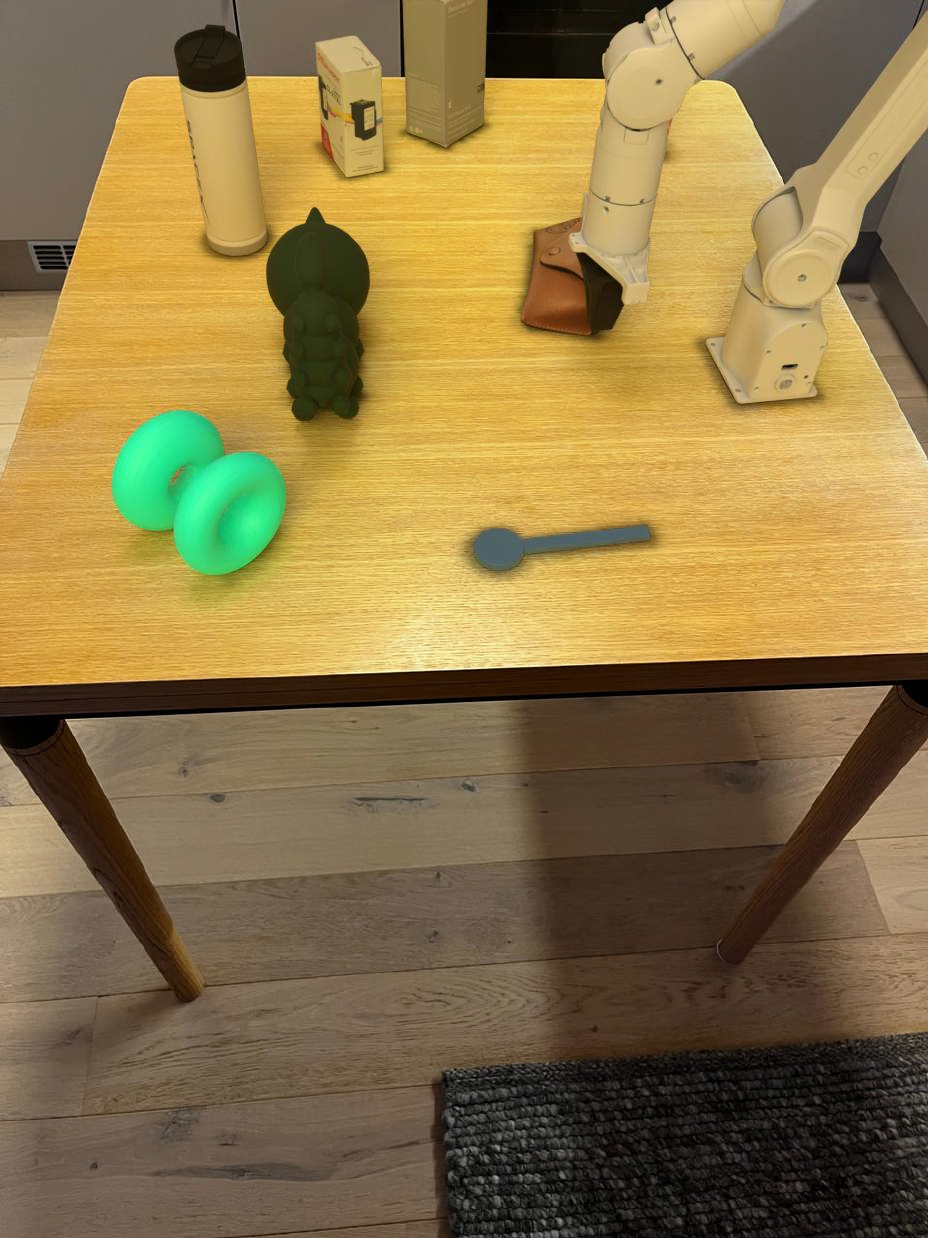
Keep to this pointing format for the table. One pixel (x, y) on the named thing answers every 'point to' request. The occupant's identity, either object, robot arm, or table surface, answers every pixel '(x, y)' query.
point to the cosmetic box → (444, 67)
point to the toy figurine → (320, 314)
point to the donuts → (199, 491)
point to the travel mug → (222, 139)
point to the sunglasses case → (556, 283)
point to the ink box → (350, 105)
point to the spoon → (545, 544)
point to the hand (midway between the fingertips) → (600, 326)
